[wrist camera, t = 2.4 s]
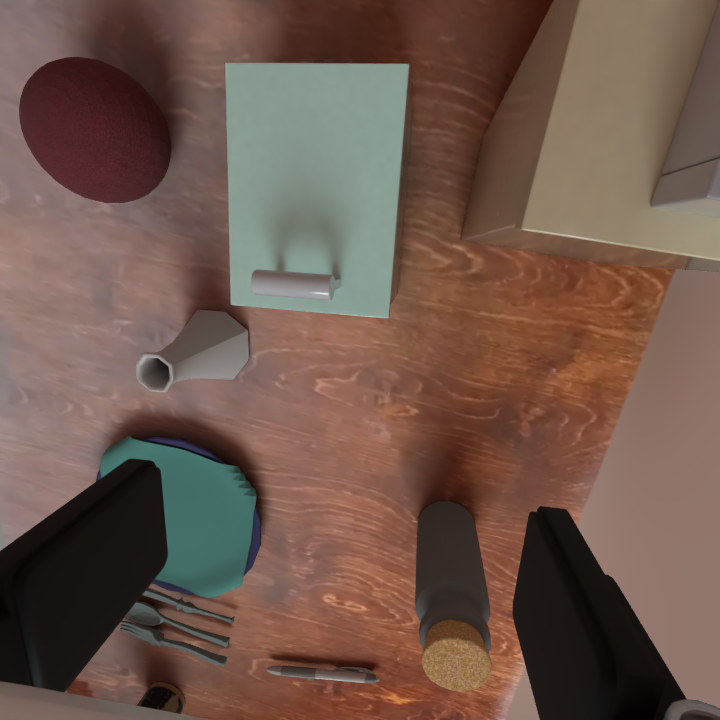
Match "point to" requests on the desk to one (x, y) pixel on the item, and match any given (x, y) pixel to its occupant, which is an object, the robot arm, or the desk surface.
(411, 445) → the desk surface
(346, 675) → the pen
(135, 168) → the decorative ball
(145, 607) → the cutlery set
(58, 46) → the desk surface
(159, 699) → the mug
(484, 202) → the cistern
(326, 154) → the pale green box lid
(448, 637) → the bottle
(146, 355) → the flask
